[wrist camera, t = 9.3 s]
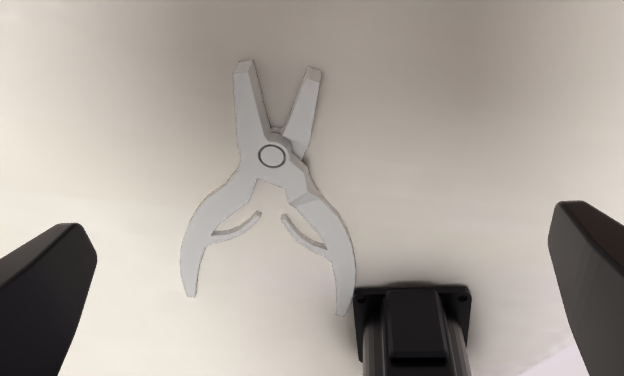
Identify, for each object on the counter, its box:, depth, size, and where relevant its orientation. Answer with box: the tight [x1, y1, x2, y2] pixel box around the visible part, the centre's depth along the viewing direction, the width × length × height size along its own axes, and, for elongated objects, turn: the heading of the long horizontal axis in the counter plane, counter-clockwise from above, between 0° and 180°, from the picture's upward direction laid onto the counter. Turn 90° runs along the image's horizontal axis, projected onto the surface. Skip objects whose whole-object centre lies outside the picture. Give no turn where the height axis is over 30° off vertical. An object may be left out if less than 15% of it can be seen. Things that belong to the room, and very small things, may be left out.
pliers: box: [180, 60, 356, 316], centre depth 24 cm, size 10×2×15 cm
